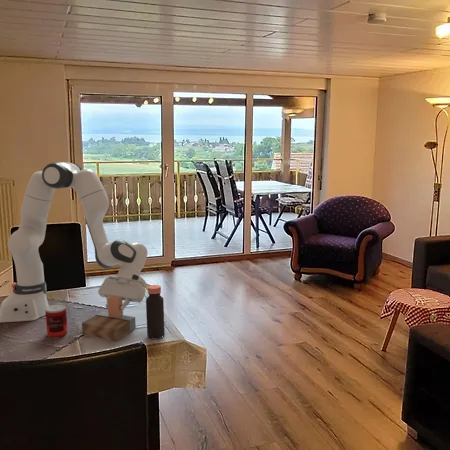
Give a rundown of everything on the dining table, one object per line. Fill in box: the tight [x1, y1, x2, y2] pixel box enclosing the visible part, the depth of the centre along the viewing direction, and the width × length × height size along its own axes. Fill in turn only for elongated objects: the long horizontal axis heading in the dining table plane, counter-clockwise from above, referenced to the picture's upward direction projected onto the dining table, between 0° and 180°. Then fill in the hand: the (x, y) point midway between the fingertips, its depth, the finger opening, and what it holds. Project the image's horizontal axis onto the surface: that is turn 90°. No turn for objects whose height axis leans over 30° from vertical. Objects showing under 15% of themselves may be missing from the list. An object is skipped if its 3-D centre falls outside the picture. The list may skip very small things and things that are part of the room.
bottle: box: [145, 284, 166, 339], centre depth 187 cm, size 7×7×20 cm
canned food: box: [45, 304, 68, 339], centre depth 189 cm, size 8×8×11 cm
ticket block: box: [81, 314, 131, 342], centre depth 190 cm, size 16×9×5 cm, turn 67°
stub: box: [96, 295, 137, 333], centre depth 195 cm, size 16×4×13 cm, turn 67°
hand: (114, 308), depth 194 cm, fingers closed on stub, 5 cm apart
